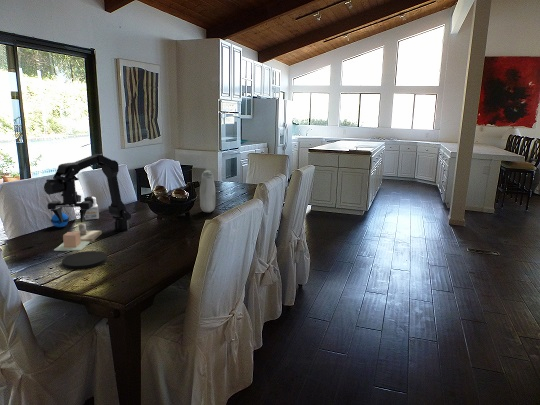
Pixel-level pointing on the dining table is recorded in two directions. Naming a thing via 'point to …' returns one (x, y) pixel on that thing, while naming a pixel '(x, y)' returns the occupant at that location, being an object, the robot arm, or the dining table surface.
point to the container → (92, 209)
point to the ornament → (57, 222)
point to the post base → (87, 233)
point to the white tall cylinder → (207, 192)
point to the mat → (78, 248)
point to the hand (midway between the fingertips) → (72, 222)
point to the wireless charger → (84, 260)
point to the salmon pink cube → (71, 239)
